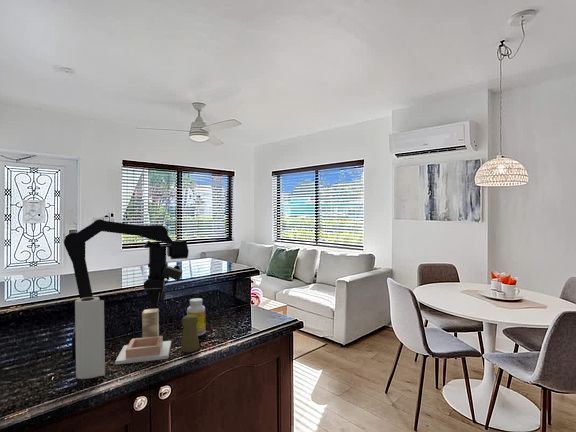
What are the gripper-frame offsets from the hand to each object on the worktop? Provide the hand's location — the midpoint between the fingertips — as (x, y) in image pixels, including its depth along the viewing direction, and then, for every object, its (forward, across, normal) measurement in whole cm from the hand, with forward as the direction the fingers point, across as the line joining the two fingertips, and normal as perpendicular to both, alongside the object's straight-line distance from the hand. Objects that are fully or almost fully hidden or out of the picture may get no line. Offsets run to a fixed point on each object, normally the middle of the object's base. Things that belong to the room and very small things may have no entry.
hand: (157, 303), depth 122 cm
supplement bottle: (+13, +4, -14) cm, 19 cm away
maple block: (+13, +3, +2) cm, 14 cm away
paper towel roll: (+14, -24, +15) cm, 31 cm away
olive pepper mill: (+13, -11, -12) cm, 21 cm away
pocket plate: (+13, -11, +2) cm, 17 cm away
